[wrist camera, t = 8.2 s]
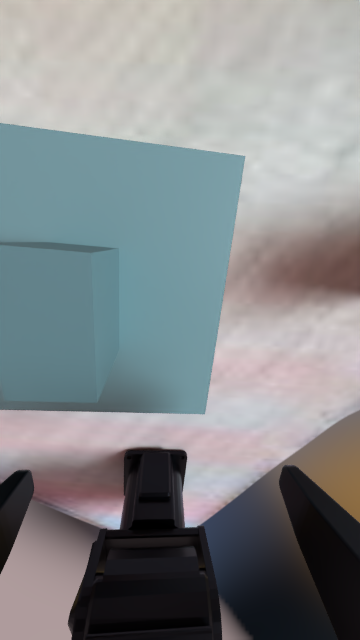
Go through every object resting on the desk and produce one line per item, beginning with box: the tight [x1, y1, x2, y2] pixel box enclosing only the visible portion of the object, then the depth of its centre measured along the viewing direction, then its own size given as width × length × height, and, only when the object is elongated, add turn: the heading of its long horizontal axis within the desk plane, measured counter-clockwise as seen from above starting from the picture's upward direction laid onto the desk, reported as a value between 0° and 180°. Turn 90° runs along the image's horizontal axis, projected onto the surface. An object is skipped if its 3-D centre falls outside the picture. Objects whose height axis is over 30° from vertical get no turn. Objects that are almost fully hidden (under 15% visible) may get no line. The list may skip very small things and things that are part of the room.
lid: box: [0, 123, 245, 414], centre depth 9 cm, size 13×13×5 cm
